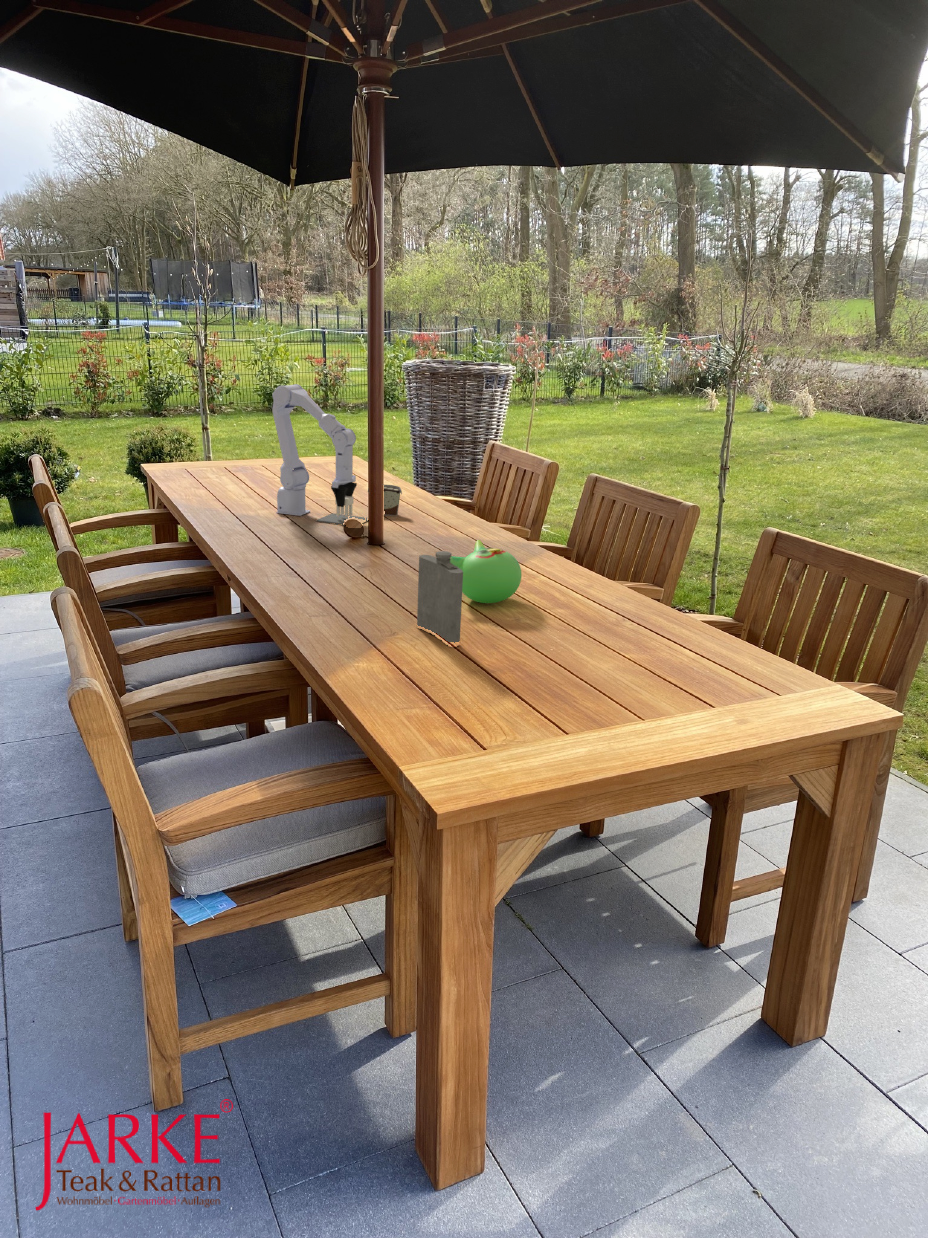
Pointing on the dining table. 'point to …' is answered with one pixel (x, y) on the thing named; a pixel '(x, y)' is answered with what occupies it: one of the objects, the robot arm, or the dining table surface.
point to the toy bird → (488, 574)
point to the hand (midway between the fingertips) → (344, 505)
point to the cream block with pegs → (347, 503)
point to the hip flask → (440, 595)
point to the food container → (391, 499)
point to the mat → (336, 518)
